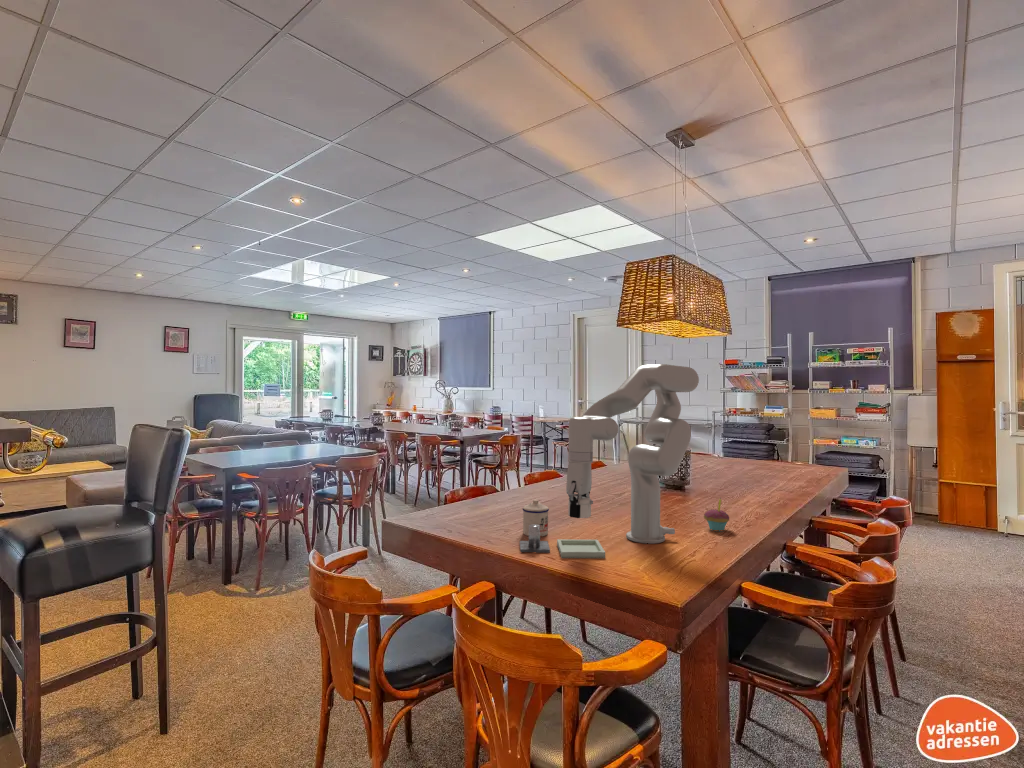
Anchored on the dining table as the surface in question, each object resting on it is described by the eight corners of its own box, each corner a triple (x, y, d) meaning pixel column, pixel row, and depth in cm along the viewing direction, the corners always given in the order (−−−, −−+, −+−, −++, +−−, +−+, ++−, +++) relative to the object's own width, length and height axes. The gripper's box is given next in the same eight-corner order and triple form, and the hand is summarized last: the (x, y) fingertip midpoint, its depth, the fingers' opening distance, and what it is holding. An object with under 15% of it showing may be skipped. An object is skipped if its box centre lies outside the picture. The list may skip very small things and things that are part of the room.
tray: (597, 545, 165) (597, 539, 165) (605, 558, 152) (605, 552, 152) (557, 545, 164) (557, 539, 164) (561, 558, 151) (561, 552, 151)
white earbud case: (573, 512, 163) (573, 495, 163) (596, 515, 159) (596, 498, 159) (564, 516, 157) (565, 499, 157) (588, 519, 153) (588, 502, 153)
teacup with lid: (542, 538, 171) (542, 503, 172) (518, 535, 176) (518, 501, 176) (555, 530, 182) (555, 497, 182) (532, 527, 186) (532, 494, 186)
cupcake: (734, 531, 182) (734, 497, 182) (716, 533, 179) (716, 499, 179) (716, 525, 190) (716, 493, 190) (698, 527, 187) (698, 494, 187)
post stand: (547, 544, 165) (547, 522, 166) (549, 552, 156) (550, 529, 156) (519, 544, 165) (519, 522, 165) (520, 552, 156) (520, 529, 156)
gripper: (579, 453, 168) (578, 508, 167) (557, 458, 153) (556, 519, 152) (601, 455, 164) (600, 511, 164) (581, 460, 149) (580, 522, 149)
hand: (579, 514), depth 158 cm, fingers closed on white earbud case, 6 cm apart
